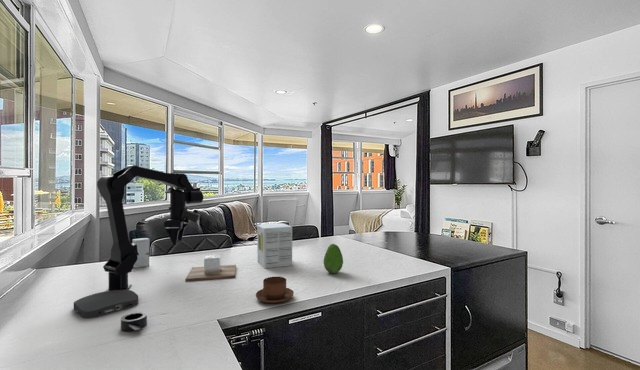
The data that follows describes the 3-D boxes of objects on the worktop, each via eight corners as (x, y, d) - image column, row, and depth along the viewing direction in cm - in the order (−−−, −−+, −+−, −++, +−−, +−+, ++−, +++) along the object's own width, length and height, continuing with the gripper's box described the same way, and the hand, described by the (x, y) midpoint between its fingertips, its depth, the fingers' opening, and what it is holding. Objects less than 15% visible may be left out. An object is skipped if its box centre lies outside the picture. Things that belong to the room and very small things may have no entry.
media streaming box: (124, 294, 105) (124, 285, 105) (142, 305, 96) (142, 295, 96) (70, 308, 94) (70, 298, 94) (84, 322, 84) (84, 311, 84)
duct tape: (157, 318, 87) (157, 308, 86) (141, 336, 77) (141, 324, 77) (127, 320, 86) (127, 309, 86) (107, 338, 76) (107, 326, 76)
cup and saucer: (287, 308, 93) (287, 287, 93) (249, 304, 96) (249, 284, 96) (298, 293, 105) (298, 275, 105) (264, 291, 107) (264, 273, 107)
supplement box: (256, 261, 147) (256, 224, 147) (283, 258, 152) (283, 222, 152) (264, 268, 135) (263, 228, 135) (293, 265, 140) (292, 226, 140)
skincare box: (134, 268, 136) (134, 240, 135) (131, 266, 139) (131, 239, 139) (150, 265, 140) (149, 238, 140) (147, 263, 143) (147, 237, 143)
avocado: (335, 277, 123) (335, 246, 123) (320, 273, 128) (319, 244, 128) (346, 272, 129) (346, 243, 129) (331, 269, 134) (331, 241, 134)
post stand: (235, 277, 122) (235, 265, 122) (185, 281, 118) (185, 268, 118) (235, 267, 138) (235, 255, 137) (192, 269, 133) (192, 258, 133)
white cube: (219, 272, 125) (219, 257, 125) (204, 273, 124) (204, 258, 124) (220, 268, 131) (220, 254, 131) (205, 269, 130) (205, 255, 130)
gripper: (194, 205, 121) (194, 246, 121) (202, 203, 139) (202, 238, 139) (163, 205, 118) (162, 247, 118) (175, 203, 137) (175, 239, 136)
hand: (177, 242), depth 128 cm, fingers open, 9 cm apart
